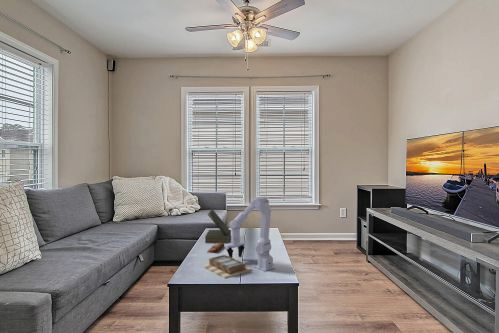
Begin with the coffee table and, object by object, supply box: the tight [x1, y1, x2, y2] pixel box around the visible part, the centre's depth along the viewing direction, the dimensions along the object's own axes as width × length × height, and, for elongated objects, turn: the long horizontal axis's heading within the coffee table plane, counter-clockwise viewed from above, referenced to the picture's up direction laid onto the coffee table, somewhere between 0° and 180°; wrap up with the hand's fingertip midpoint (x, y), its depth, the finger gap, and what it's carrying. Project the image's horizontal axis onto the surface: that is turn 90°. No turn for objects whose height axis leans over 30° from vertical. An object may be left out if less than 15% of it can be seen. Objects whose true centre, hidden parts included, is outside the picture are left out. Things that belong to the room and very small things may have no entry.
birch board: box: [202, 263, 252, 279], centre depth 182 cm, size 24×20×1 cm
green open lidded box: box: [204, 209, 231, 244], centre depth 251 cm, size 23×20×25 cm
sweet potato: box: [206, 242, 225, 254], centre depth 223 cm, size 18×7×7 cm
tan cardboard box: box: [208, 254, 246, 274], centre depth 182 cm, size 22×12×4 cm, turn 39°
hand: (235, 258), depth 197 cm, fingers open, 7 cm apart
